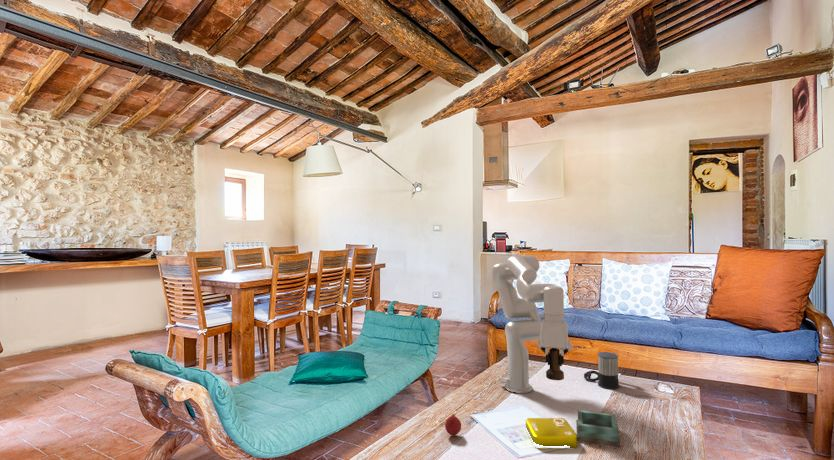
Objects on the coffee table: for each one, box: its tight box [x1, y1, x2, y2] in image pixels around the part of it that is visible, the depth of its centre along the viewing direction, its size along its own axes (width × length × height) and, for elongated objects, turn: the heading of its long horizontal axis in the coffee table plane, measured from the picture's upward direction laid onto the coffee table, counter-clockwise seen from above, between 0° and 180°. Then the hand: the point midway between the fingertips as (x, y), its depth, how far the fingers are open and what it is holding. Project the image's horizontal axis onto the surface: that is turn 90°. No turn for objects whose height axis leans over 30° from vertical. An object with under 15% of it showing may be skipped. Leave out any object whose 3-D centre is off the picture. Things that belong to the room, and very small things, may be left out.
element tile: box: [525, 417, 578, 449], centre depth 150 cm, size 15×15×5 cm
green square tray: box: [575, 409, 622, 449], centre depth 151 cm, size 14×14×6 cm
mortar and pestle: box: [545, 348, 565, 381], centre depth 165 cm, size 7×6×18 cm
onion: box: [444, 413, 462, 437], centre depth 152 cm, size 6×6×8 cm
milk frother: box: [583, 351, 620, 390], centre depth 201 cm, size 14×16×15 cm
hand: (554, 364), depth 165 cm, fingers closed on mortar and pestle, 3 cm apart
